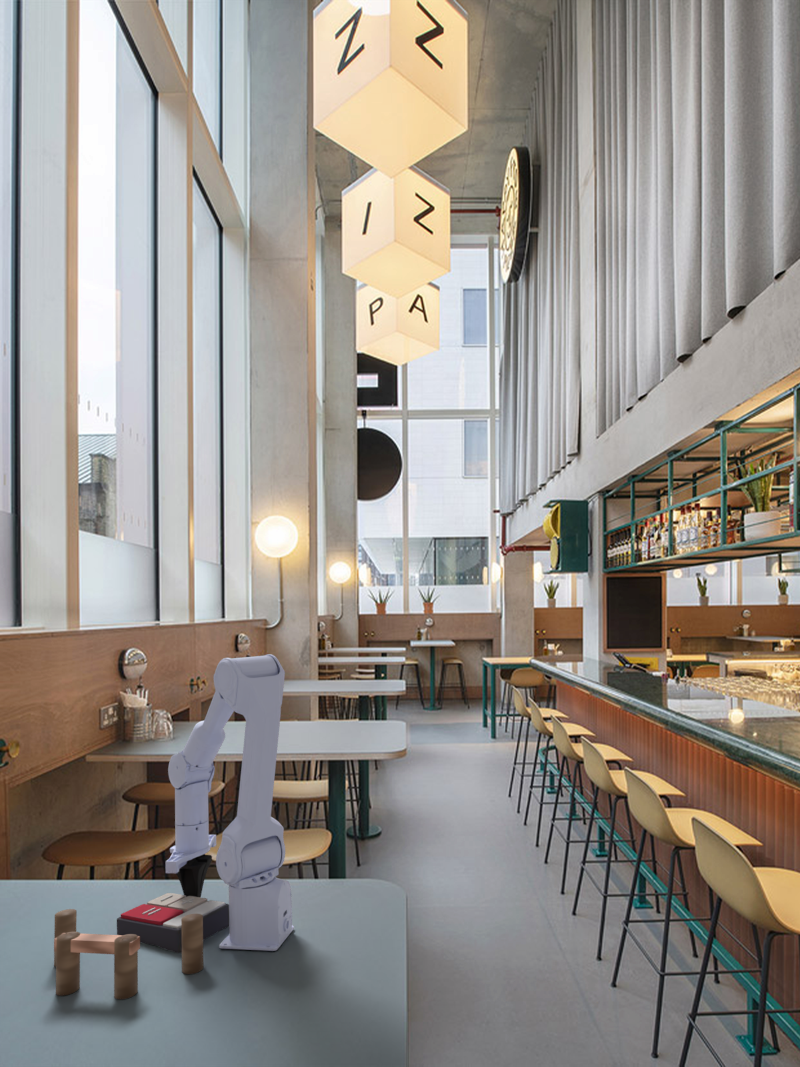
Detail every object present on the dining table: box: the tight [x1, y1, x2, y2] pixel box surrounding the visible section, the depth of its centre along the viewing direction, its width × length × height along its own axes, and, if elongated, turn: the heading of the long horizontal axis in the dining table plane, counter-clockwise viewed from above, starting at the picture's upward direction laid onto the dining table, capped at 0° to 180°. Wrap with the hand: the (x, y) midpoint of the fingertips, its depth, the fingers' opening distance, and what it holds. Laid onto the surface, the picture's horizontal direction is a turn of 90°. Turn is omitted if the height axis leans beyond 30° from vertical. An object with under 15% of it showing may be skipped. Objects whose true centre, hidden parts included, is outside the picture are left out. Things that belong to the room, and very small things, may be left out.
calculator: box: [116, 892, 229, 954], centre depth 114 cm, size 11×4×15 cm
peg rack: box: [53, 908, 204, 1000], centre depth 99 cm, size 24×10×7 cm, turn 79°
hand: (192, 902), depth 122 cm, fingers closed
